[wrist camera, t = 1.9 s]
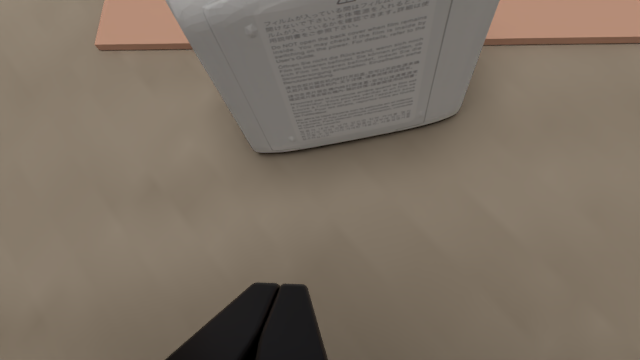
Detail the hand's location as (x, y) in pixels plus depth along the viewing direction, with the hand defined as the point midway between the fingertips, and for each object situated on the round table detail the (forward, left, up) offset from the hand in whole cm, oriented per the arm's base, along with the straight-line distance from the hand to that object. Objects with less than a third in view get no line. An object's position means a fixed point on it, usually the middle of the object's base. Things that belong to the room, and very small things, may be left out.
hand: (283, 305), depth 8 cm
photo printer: (+10, 0, -13) cm, 16 cm away
